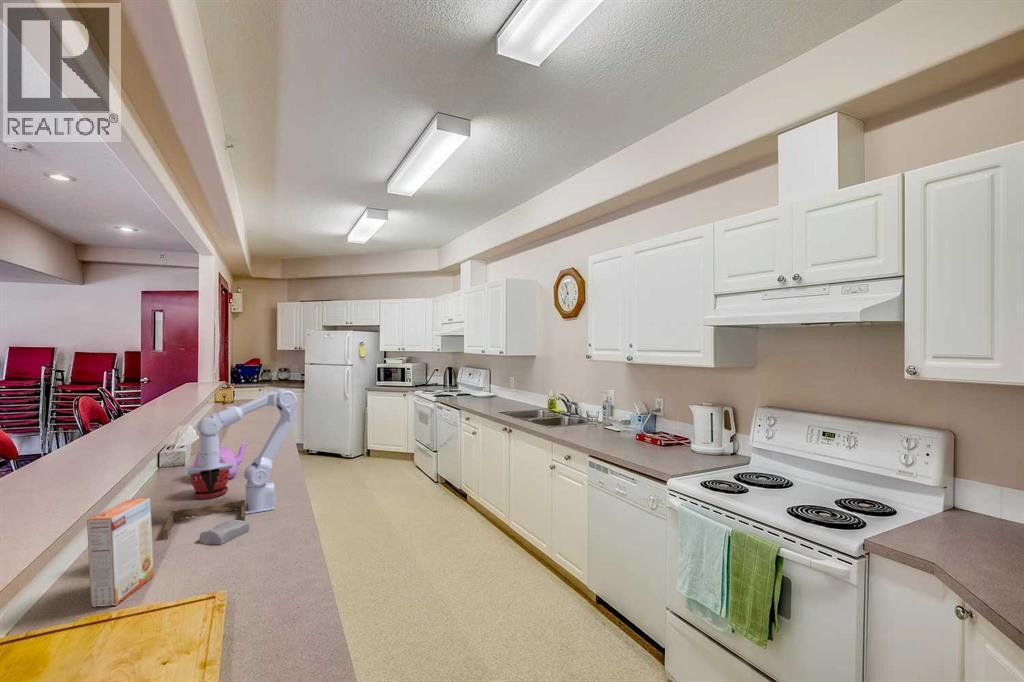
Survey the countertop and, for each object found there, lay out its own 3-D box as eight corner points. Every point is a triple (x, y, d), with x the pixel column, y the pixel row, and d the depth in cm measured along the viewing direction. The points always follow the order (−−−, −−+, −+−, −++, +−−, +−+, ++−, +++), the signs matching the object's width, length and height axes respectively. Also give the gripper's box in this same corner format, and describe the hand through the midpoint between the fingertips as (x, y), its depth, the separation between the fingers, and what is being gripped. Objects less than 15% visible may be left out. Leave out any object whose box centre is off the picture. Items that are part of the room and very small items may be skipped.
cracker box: (130, 578, 127) (127, 498, 126) (154, 577, 127) (152, 497, 127) (88, 608, 113) (85, 518, 113) (115, 607, 113) (113, 517, 113)
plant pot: (236, 489, 200) (235, 460, 200) (218, 500, 187) (217, 469, 187) (203, 490, 200) (203, 461, 200) (183, 501, 187) (182, 470, 187)
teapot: (200, 489, 202) (199, 452, 201) (189, 479, 217) (188, 445, 217) (260, 477, 218) (259, 443, 217) (245, 468, 233) (244, 436, 232)
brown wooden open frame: (245, 507, 178) (244, 499, 178) (244, 525, 161) (244, 516, 161) (171, 519, 168) (171, 511, 168) (163, 539, 151) (163, 530, 151)
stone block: (196, 549, 148) (223, 545, 146) (193, 533, 148) (221, 529, 146) (227, 535, 160) (253, 531, 157) (225, 520, 160) (250, 516, 158)
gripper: (234, 447, 174) (235, 485, 174) (185, 453, 167) (186, 492, 167) (234, 451, 168) (235, 490, 168) (183, 457, 161) (184, 498, 161)
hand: (210, 492), depth 167 cm, fingers closed
